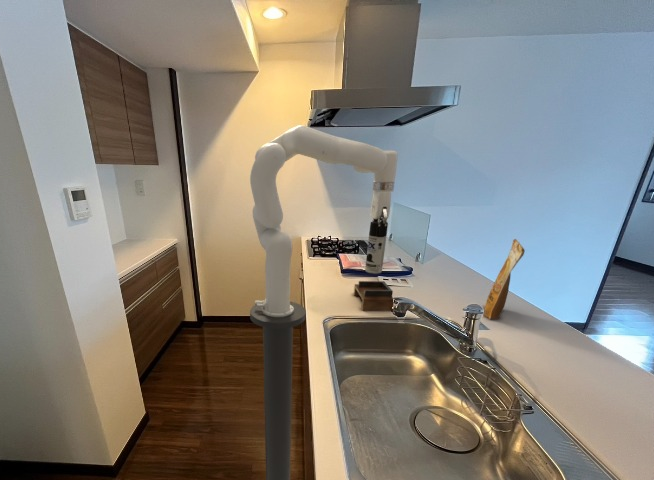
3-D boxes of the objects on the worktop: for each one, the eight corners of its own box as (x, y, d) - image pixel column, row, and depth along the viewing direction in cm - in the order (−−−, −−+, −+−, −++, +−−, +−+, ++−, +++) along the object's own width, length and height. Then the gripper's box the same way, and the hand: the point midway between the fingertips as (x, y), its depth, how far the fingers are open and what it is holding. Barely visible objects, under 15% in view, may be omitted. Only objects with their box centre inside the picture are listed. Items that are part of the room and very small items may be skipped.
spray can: (361, 270, 132) (366, 221, 124) (373, 268, 135) (379, 220, 127) (373, 275, 126) (379, 224, 119) (385, 272, 129) (392, 222, 122)
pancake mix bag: (505, 306, 130) (524, 238, 120) (503, 323, 116) (526, 247, 105) (485, 303, 134) (503, 236, 123) (482, 319, 119) (501, 245, 109)
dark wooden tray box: (362, 310, 128) (364, 293, 125) (353, 294, 145) (355, 279, 142) (392, 310, 127) (395, 293, 125) (380, 294, 144) (382, 279, 141)
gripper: (367, 186, 127) (363, 231, 133) (379, 188, 110) (373, 239, 117) (386, 186, 126) (381, 231, 133) (401, 188, 110) (394, 239, 117)
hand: (377, 234), depth 125 cm, fingers closed on spray can, 6 cm apart
